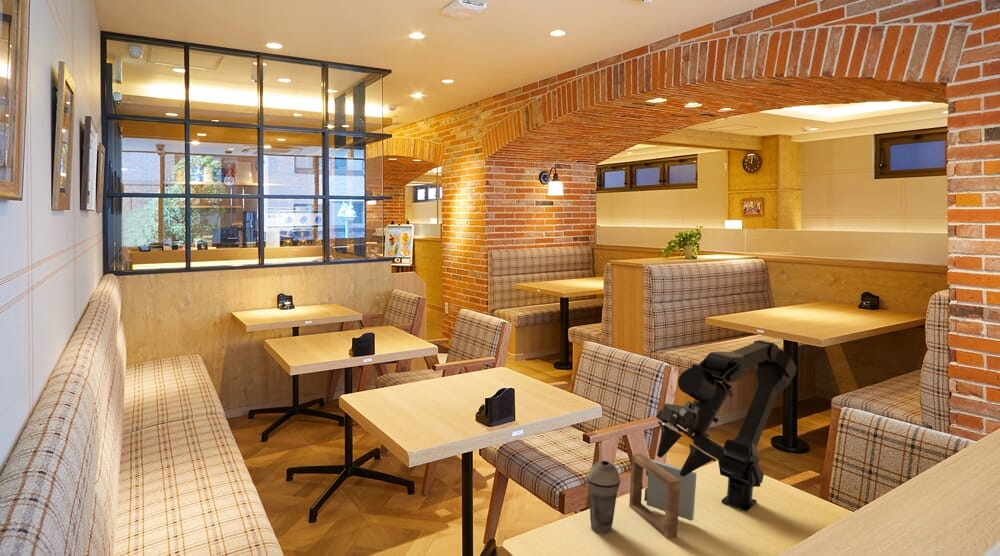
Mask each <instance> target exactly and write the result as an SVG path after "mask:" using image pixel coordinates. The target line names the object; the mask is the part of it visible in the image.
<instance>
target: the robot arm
mask: <svg viewBox="0 0 1000 556" xmlns="http://www.w3.org/2000/svg"><path fill="white" fill-rule="evenodd" d="M754 366H755V367H756V368H755V369H756V370H755V376H756V379H757V387H756V389H755V391H754V394H753V396H752V399H751V402H750V404H749V406H748V408H747V411H746V413H745V416H744V418H743V421H742V424H741V426H740V428H739V430H738V433H737V435H736V437H734V438H732V439H729V438H727V440H726V441H725V440H724V441H725V442H724V445H723V446H722V445H721V444H719V443H718V442H716V441H714V440H713V439H711V438H710V434H708V433H707V432H708V431H709V428H710V427H711V425H712V423H713V422H714V423H716V424H717V423H718V422H719V418H717V415H718V413H719V411H720V409H721V408H722V407H723V405H724V404H725V401H726V400H727V399H728V398H730V399H731V398H733V397H734V393H733V391H732V385H731V384H732V383H735V382H737V381H738V380H739V379H740V378H742V377H743V373H744V371H745V370H748V368H751V367H754ZM796 373H797V366H796V364H795V361H794V360H793V358H792V357H791V356H790V355H789V354H787V353H785V352H784V351H783V350H781V349H780V347H779V346H778V344H775V343H774V342H772V341H771V342H770V341H766V340H761V339H758V340H755V341H754V342H753V343H750V344H748V345H746V346H743V347H740V348H738V349H735V350H733V351H711V352H709V353H708V354H707V355H706V356H705V358H704V359H703V360H702V361H701V362H700V363H698V364H697V363H693V364H692V365H691V368H687V369H685V370H684V371H683V372H682V373H681V374H680V375H679V376H678V380H677V385H678V388H679V390H680V391H681V392H682V393H683V394H686V395H687V396H689V397H691V398H692V399H693V400H692V402H691V401H689V400H688V401H686V402H685V404H684V405H678V404H672V403H664V404H663V407H662V409H661V410H659V411H658V413H657V415H656V417H655V418H657V423H658V424H659V427H660V431H661V432H660V439H659V443H658V449H657V454H656V456H657V457H658V458H661V459H662V458H663V457H664V456H665V455H666V454H667V453H668V452H669V450H671V449H672V447H673V446H674V445H676V443H677V442H678V441H679V440H680V439H681V437H682V436H683V434H684V435H685V436H687V437H688V438H690V440H692V442H693V443H692V444H691V443H689V454H688V456H687V457H686V460H685V462H684V463H683V465H682V467H681V472H680V475H681V476H683V477H684V476H686V475H687V474H689V473H691V472H694V471H696V470H697V469H699V468H700V467H703V466H705V465H706V464H709V463H710V462H716V461H717V460H718V461H717V462H718V468H719V475H720V476H723V477H726V478H728V480H727V491H726V495H725V496H724V497H723V498H722V499H721V503H722V504H724V505H727V506H730V507H733V508H736V509H738V510H742V511H744V512H749V511H750V510H751V509H752V508H753V507H754V506H755V505H756V504H757V500H756V499H754V498H753V491H754V487H756V488H758V487H759V488H760V487H761V484H762V483H763V480H764V476H765V474H764V472H763V470H762V469H761V468H760V466H759V462H760V455H759V450H758V444H759V442H760V439H761V436H762V435H763V432H764V429H765V427H766V424H767V422H768V419H769V416H770V415H771V412H772V408H773V406H774V404H775V401H776V398H777V396H778V394H779V393H781V391H783V390H784V389H786V388H788V387H789V385H790V384H791V381H792V379H793V378H794V377H795V376H796ZM729 383H731V384H729ZM681 433H682V434H681Z"/></svg>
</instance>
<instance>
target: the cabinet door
mask: <svg viewBox="0 0 1000 556" xmlns="http://www.w3.org/2000/svg"><path fill="white" fill-rule="evenodd" d="M650 460H651V461H653V462H654V463H655V464H657V465H658V466H660V467H661V468H663V469H664V470H666V471H667V472H668V473H670V474H671V475H673V476H674V477H676V478H677V479H679V480H680V495H679V510H678V518H682V519H685V520H687V521H690V522H692V521H693V520H694V518H695V517H694V516H695V501H696V500H695V499H696V484H697V472H694V471H692V472H691V473H689V474H687V475H686V476H684V477H683V476H681V475H680V472H681V469H682V467H678V466H675V465H671V464H668V463H664V462H663V461H658V460H654V459H650ZM645 476H646V477H647V486H646V487H645V488H644V501H645V502H646V506H649V507H651V508H655V509H656V510H659V511H662V512H665V511H666V495H667V485H666V484H665V483H663V482H662V481H661V480H659V479H658V478H656V477H655V476H654V475H652V474H651V473H650V472H648V471H647V470H645Z"/></svg>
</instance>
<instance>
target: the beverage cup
mask: <svg viewBox="0 0 1000 556" xmlns="http://www.w3.org/2000/svg"><path fill="white" fill-rule="evenodd" d="M598 450H599V451H598V452H599V453H598V454H599V461H596V462H595V463H594V464H592V465H591V467H590V468H589V470H588V474H587V476H586V480H587V485H588V486H587V487H588V494H589V495H588V496H589V516H590V518H589V520H590V529H591V530H592V531H593V532H594V533H596V534H598V535H599V534H600V535H607V534H610V533H611V532H612V529H613V527H612V526H613V522H614V518H615V517H614V516H615V510H616V509H615V508H616V502H617V497H618V496H617V495H618V491H619V488H620V483H621V479H620V474H619V471H618V469H617V467H616V465H614V464H613V463H612V462H610V461H608V460H603V450H602V442H601V441H600V442H598Z"/></svg>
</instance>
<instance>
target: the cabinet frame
mask: <svg viewBox="0 0 1000 556" xmlns="http://www.w3.org/2000/svg"><path fill="white" fill-rule="evenodd" d="M630 467H631V468H630V483H629V484H630V487H629V503H628V507H629V508H630V509H632V510H633V511H634V512H635V513H636V514H637V515H639V516H640V517H641V518H642V520H645V521H646V523H648V524H649V525H651V527H652V528H654V529H655V530H656V531H657V532H658V533H660V534H661V536H662V537H664V538H666V539H667V540H669V539H674V538H677V536H678V524H679V523H678V521H679V516H678V510H679V495H680V480H679V479H677V478H676V477H674V476H673V475H671V474H670V473H668V472H667V471H666V470H664V469H663V468H661V467H660V466H658V465H657V464H655V463H654V462H653V461H651V459H650V458H648V457H647V456H645V455H644V454H642V453H636V454H632V455H631V466H630ZM644 470H645V471H646V470H647V471H648V472H650V473H651V474H652V475H654V476H655V477H656V478H658V479H659V480H661V481H662V482H663V483H665V484H666V485H667V495H666V511H664V512H665V514H664V515H665V516H664V521H663V520H662V518H660V517H659V516H657V515H656V514H655V513H654V512H652V511H651V510H650V509H649V508H648V507H647V506H645V505H644V504H643V503H642V497H643V496H642V492H643V480H644V478H643V476H644Z"/></svg>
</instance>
